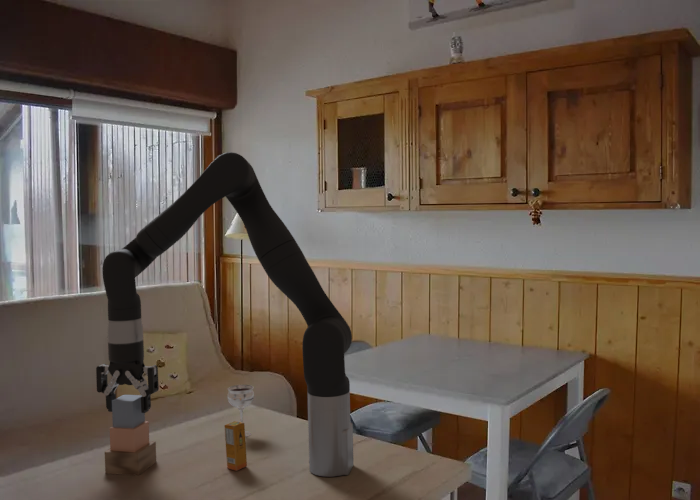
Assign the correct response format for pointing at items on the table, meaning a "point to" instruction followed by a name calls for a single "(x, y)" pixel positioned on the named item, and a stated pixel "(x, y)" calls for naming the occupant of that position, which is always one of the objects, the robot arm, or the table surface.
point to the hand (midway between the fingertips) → (128, 411)
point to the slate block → (127, 411)
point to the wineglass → (241, 399)
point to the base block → (130, 460)
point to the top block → (129, 438)
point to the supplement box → (235, 445)
